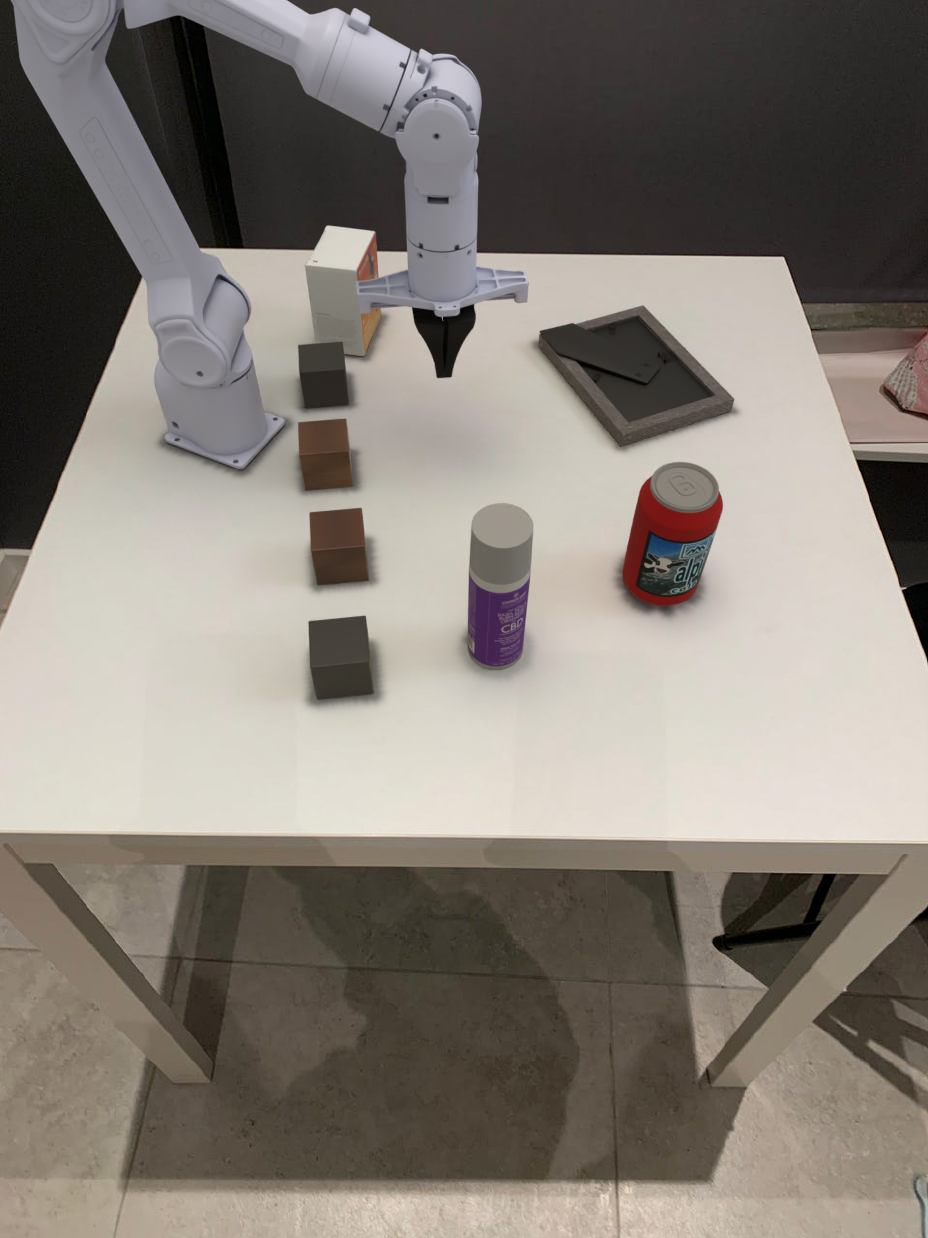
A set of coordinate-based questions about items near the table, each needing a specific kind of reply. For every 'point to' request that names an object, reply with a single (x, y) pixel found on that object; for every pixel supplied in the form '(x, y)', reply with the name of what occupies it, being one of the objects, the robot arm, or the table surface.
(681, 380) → the picture frame
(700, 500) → the beverage can
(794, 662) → the table surface
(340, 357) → the charcoal end block
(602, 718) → the table surface
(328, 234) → the small box
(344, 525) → the walnut block
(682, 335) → the table surface
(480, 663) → the container
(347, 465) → the walnut block
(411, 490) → the table surface
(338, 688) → the charcoal front block
